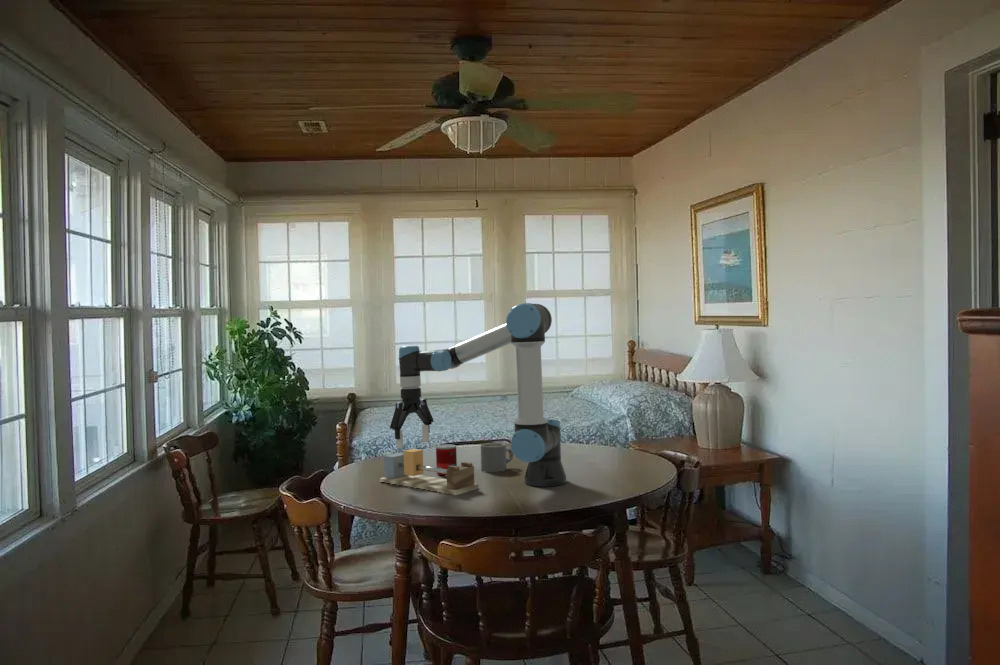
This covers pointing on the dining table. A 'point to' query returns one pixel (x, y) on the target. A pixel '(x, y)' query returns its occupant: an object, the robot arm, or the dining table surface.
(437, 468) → the rail rod
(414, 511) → the dining table surface
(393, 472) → the block
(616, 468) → the dining table surface
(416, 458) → the tan block with hole
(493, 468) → the coffee mug
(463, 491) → the rail board
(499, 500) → the dining table surface
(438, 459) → the canned food
